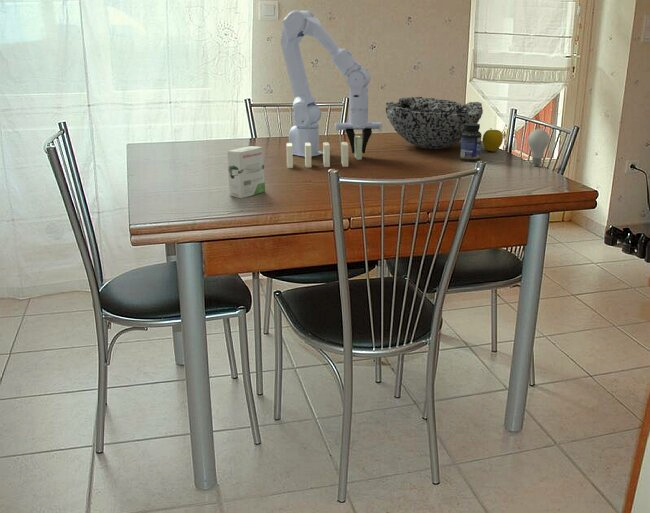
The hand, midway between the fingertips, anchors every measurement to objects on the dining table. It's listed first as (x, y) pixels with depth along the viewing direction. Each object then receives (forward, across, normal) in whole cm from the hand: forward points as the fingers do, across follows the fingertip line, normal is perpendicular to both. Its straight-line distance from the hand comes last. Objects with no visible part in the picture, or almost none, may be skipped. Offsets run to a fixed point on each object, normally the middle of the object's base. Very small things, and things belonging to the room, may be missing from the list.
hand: (358, 152), depth 228 cm
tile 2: (+2, -16, -10) cm, 19 cm away
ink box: (+2, -34, -42) cm, 54 cm away
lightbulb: (+2, +51, -18) cm, 54 cm away
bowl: (+2, +27, +14) cm, 30 cm away
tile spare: (+2, 0, 0) cm, 2 cm away
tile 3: (+2, -11, -10) cm, 15 cm away
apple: (+2, +45, +5) cm, 45 cm away
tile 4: (+2, -5, -10) cm, 11 cm away
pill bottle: (+2, +34, -7) cm, 35 cm away
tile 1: (+2, -22, -10) cm, 24 cm away
